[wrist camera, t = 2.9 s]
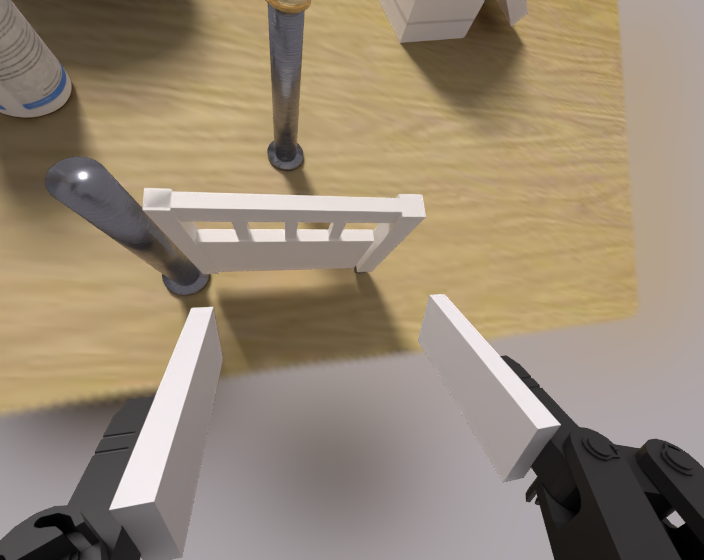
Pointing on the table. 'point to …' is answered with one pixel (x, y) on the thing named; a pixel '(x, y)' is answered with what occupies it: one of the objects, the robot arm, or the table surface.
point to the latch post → (286, 79)
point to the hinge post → (122, 220)
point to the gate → (282, 244)
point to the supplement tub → (28, 69)
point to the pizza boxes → (441, 17)
